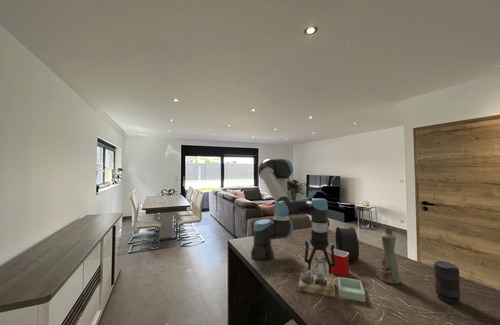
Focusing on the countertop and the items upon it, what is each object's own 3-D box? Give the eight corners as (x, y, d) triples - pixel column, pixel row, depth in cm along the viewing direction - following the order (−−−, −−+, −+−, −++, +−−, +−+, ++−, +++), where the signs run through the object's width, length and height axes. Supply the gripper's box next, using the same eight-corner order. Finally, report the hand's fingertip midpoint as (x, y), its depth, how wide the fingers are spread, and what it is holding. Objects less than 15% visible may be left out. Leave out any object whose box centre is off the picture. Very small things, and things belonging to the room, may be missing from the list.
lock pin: (315, 289, 98) (315, 259, 99) (316, 284, 103) (315, 255, 103) (326, 291, 97) (325, 260, 97) (326, 285, 101) (325, 256, 102)
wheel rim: (359, 267, 121) (358, 232, 121) (342, 265, 122) (342, 231, 123) (350, 253, 140) (349, 224, 141) (335, 252, 142) (335, 223, 143)
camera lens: (430, 294, 93) (428, 261, 94) (446, 293, 94) (445, 260, 95) (448, 306, 85) (447, 269, 86) (466, 305, 86) (464, 268, 87)
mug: (350, 272, 115) (349, 252, 115) (345, 277, 109) (344, 257, 109) (328, 265, 123) (328, 247, 123) (323, 270, 117) (322, 251, 117)
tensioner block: (298, 290, 97) (298, 281, 98) (301, 277, 109) (301, 269, 109) (335, 297, 92) (334, 287, 92) (333, 283, 103) (333, 274, 103)
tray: (339, 298, 91) (339, 289, 91) (338, 284, 103) (338, 276, 103) (365, 302, 88) (365, 294, 88) (360, 287, 99) (360, 280, 99)
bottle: (401, 287, 99) (399, 228, 101) (379, 282, 104) (377, 226, 105) (399, 279, 107) (397, 224, 108) (379, 274, 112) (377, 222, 113)
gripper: (298, 230, 101) (297, 278, 100) (342, 235, 94) (342, 286, 93) (299, 226, 108) (299, 271, 107) (340, 230, 101) (341, 278, 100)
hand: (319, 278), depth 100 cm, fingers open, 7 cm apart
